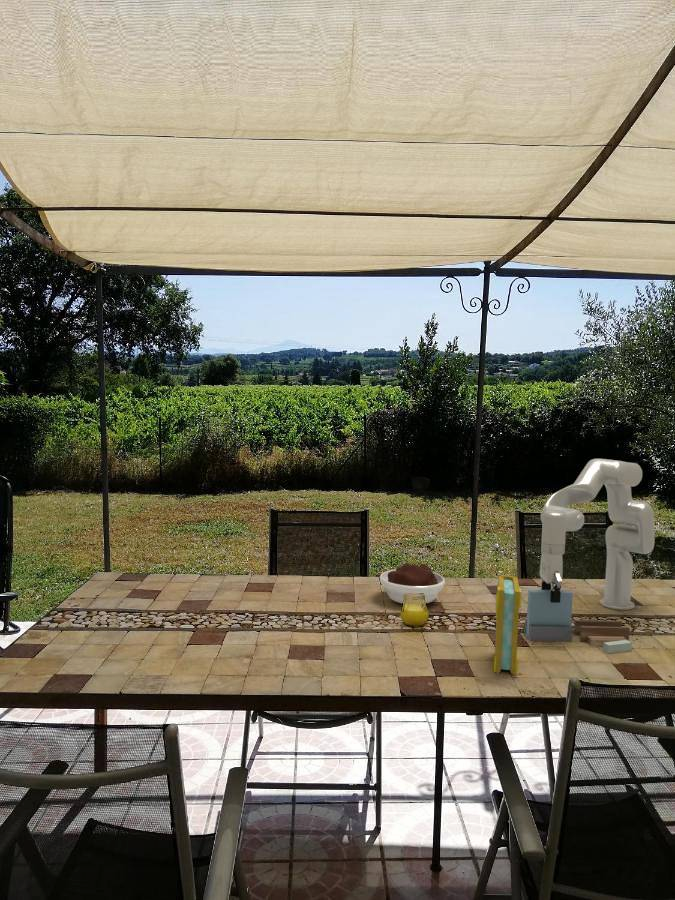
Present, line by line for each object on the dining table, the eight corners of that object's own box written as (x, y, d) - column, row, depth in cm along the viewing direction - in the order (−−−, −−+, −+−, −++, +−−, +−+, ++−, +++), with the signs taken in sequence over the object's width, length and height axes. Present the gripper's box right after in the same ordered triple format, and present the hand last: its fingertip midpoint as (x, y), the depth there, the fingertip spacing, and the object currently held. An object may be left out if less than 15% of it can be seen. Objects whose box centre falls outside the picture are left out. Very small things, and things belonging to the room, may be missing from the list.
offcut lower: (587, 643, 237) (587, 636, 237) (622, 643, 237) (623, 636, 237) (591, 647, 233) (591, 640, 233) (627, 647, 234) (627, 640, 234)
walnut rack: (573, 634, 244) (574, 619, 244) (620, 635, 244) (621, 620, 244) (580, 641, 237) (581, 627, 237) (628, 642, 237) (629, 628, 237)
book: (517, 674, 209) (521, 592, 207) (493, 672, 211) (497, 590, 208) (514, 653, 226) (518, 576, 223) (493, 651, 227) (496, 574, 225)
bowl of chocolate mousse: (365, 600, 275) (366, 562, 273) (405, 587, 293) (406, 551, 292) (418, 616, 258) (419, 576, 257) (456, 601, 276) (458, 563, 275)
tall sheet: (526, 635, 242) (528, 589, 240) (566, 636, 242) (569, 590, 241) (528, 638, 239) (531, 592, 237) (569, 639, 239) (572, 593, 238)
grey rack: (524, 633, 244) (525, 619, 243) (565, 633, 244) (565, 619, 244) (530, 640, 237) (530, 626, 236) (571, 641, 237) (572, 627, 237)
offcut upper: (603, 642, 230) (608, 645, 227) (626, 639, 232) (631, 642, 230) (602, 651, 230) (607, 654, 228) (625, 648, 233) (631, 651, 230)
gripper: (534, 541, 246) (532, 589, 248) (549, 554, 229) (547, 606, 231) (556, 541, 246) (553, 589, 248) (573, 554, 229) (570, 606, 231)
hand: (550, 597), depth 239 cm, fingers open, 9 cm apart
